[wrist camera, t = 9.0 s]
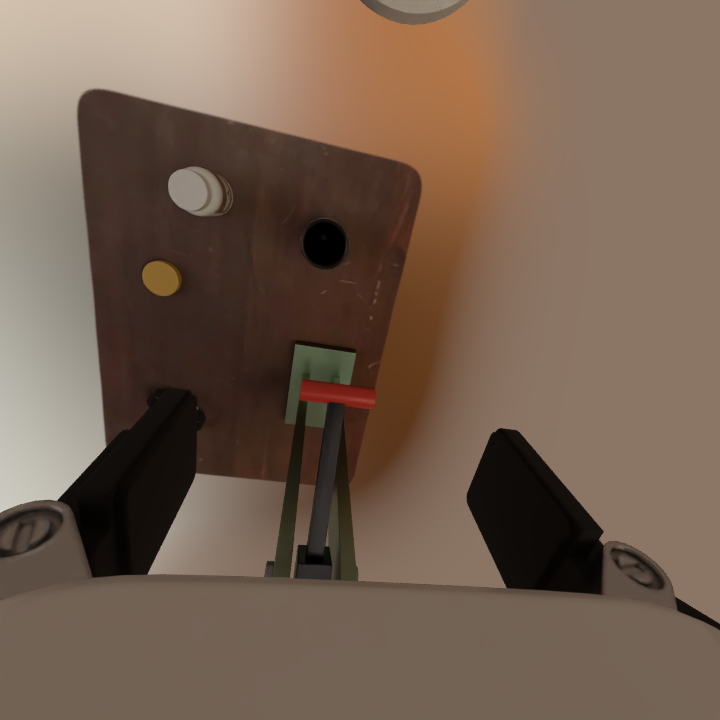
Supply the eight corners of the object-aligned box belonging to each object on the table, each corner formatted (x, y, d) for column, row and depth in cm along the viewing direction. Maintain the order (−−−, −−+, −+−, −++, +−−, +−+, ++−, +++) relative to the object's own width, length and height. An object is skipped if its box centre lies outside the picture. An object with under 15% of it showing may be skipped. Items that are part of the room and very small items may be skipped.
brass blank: (138, 268, 41) (134, 269, 40) (168, 254, 40) (165, 255, 40) (159, 299, 42) (155, 301, 41) (188, 286, 42) (185, 287, 41)
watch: (215, 409, 49) (207, 423, 45) (196, 431, 50) (187, 447, 46) (164, 377, 46) (152, 390, 43) (145, 401, 47) (132, 415, 44)
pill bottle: (238, 213, 39) (218, 213, 32) (199, 218, 39) (170, 218, 32) (228, 170, 38) (205, 159, 31) (187, 174, 38) (154, 165, 30)
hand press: (296, 340, 46) (250, 526, 18) (355, 349, 47) (396, 536, 20) (285, 417, 50) (236, 662, 23) (340, 424, 51) (355, 663, 24)
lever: (302, 378, 24) (301, 379, 22) (371, 387, 25) (378, 389, 23) (271, 584, 24) (267, 608, 21) (343, 588, 24) (348, 611, 22)
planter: (315, 210, 40) (311, 208, 31) (350, 228, 41) (357, 232, 32) (299, 247, 41) (292, 256, 32) (334, 264, 42) (337, 278, 33)
